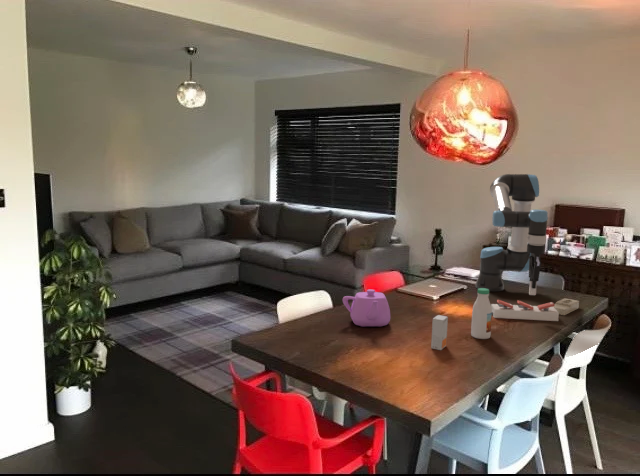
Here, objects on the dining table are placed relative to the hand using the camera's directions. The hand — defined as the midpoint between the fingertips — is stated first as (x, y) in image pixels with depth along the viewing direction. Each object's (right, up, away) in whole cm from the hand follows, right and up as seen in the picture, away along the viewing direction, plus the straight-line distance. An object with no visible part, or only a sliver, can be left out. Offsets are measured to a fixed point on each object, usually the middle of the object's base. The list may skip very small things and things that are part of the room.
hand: (532, 294), depth 242 cm
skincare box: (-51, -17, -38) cm, 66 cm away
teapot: (-75, -12, -10) cm, 77 cm away
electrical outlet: (+21, -10, +14) cm, 27 cm away
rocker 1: (-12, -4, +2) cm, 13 cm away
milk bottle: (-31, -15, -25) cm, 42 cm away
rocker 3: (+6, -5, -1) cm, 8 cm away
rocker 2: (-3, -5, +1) cm, 6 cm away
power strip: (-6, -10, +4) cm, 13 cm away
